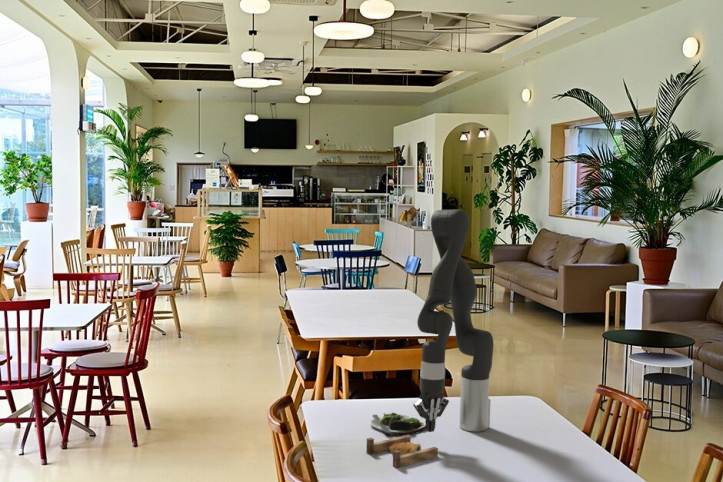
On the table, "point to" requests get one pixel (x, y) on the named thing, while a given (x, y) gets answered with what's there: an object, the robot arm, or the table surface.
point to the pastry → (405, 448)
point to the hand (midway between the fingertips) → (430, 431)
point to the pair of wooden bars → (398, 459)
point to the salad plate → (397, 424)
